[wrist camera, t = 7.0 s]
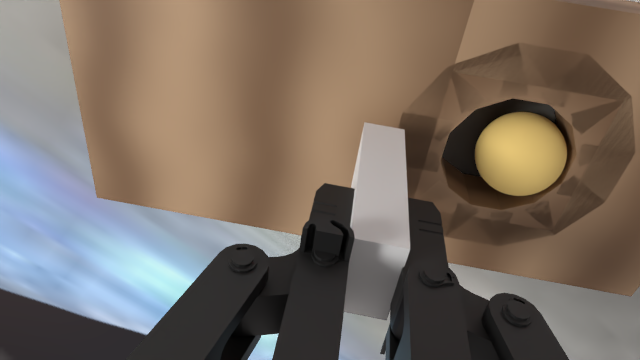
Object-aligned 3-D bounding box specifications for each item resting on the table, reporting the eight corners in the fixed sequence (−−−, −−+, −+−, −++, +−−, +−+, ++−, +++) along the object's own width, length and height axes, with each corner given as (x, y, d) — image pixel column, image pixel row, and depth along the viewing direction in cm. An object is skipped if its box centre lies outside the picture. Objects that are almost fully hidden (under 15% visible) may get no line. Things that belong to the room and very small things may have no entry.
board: (121, 170, 24) (97, 197, 22) (84, -87, 17) (43, -82, 15) (609, 259, 23) (631, 296, 21) (769, 23, 16) (823, 43, 14)
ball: (498, 123, 16) (594, 125, 16) (470, 102, 20) (550, 103, 20) (484, 209, 18) (572, 211, 18) (459, 176, 21) (535, 178, 21)
